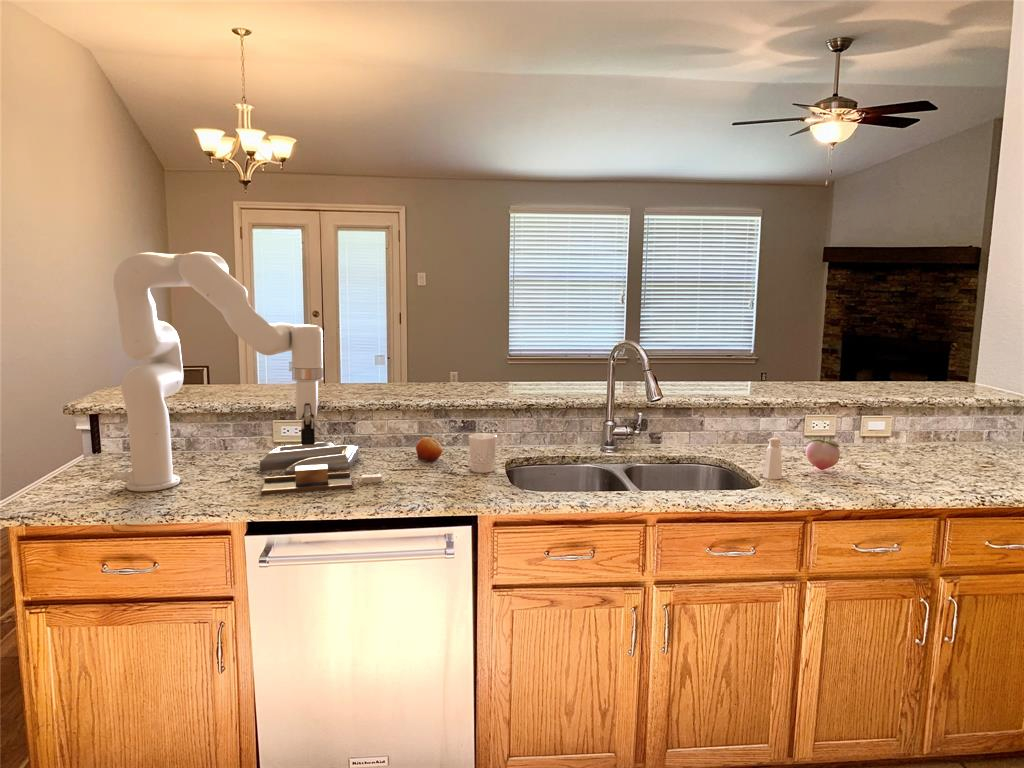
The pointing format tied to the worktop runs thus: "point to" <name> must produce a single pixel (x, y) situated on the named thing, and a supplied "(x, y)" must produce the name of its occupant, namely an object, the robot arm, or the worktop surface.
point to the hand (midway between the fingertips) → (308, 439)
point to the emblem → (310, 457)
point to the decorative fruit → (822, 453)
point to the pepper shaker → (773, 460)
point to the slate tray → (289, 486)
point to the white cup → (482, 452)
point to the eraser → (311, 475)
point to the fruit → (428, 449)
